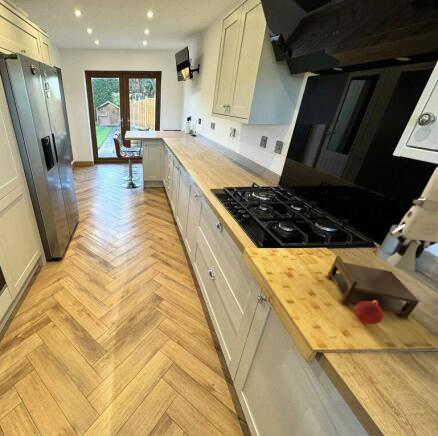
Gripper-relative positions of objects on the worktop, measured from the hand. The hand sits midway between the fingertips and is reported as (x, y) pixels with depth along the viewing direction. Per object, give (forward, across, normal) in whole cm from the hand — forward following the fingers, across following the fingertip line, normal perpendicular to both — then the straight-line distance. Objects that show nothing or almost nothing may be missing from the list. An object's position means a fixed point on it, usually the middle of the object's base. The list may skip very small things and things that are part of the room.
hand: (406, 254), depth 81 cm
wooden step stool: (+10, -15, -15) cm, 23 cm away
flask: (+5, 0, 0) cm, 5 cm away
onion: (+10, -20, -28) cm, 36 cm away
